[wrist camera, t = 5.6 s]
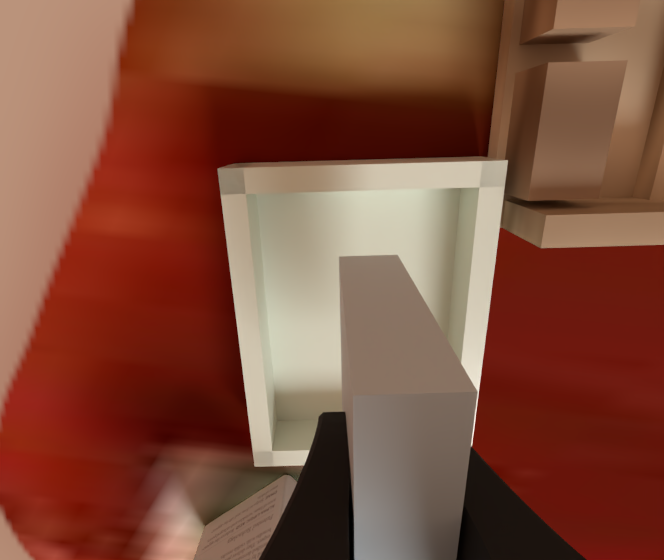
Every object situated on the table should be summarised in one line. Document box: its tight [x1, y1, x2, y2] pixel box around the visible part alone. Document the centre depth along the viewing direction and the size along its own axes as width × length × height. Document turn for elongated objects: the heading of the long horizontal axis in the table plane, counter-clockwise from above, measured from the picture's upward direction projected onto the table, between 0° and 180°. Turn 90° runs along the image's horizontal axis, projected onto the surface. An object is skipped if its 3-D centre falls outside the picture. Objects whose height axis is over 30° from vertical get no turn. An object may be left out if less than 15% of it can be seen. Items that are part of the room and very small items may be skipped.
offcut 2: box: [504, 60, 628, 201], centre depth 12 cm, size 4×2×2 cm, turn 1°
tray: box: [217, 156, 508, 467], centre depth 15 cm, size 12×9×2 cm
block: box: [339, 255, 478, 560], centre depth 9 cm, size 8×2×6 cm, turn 1°
